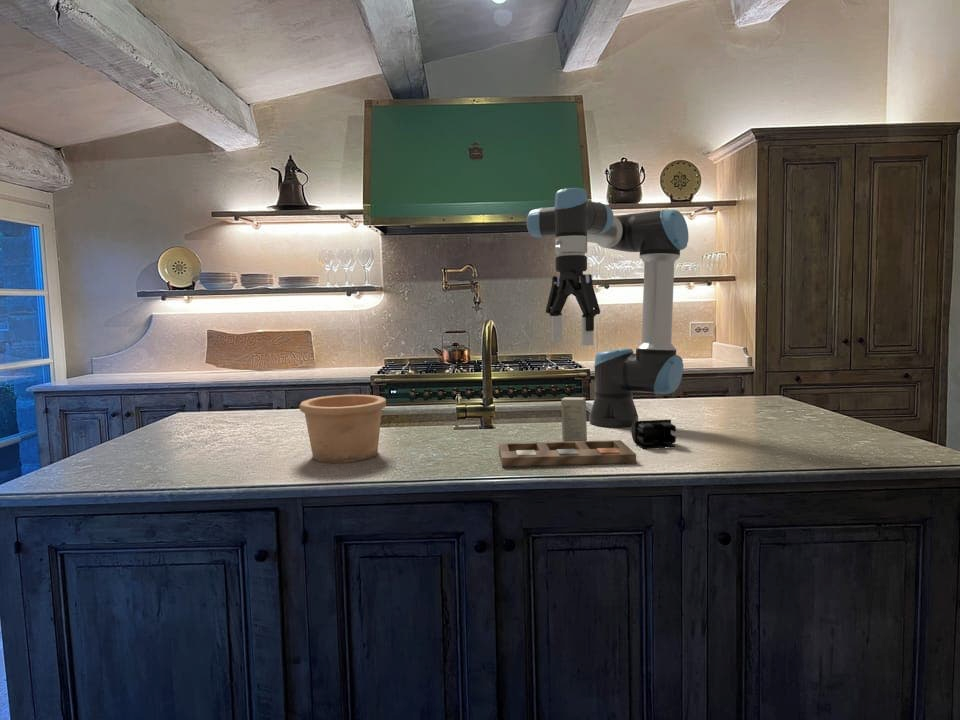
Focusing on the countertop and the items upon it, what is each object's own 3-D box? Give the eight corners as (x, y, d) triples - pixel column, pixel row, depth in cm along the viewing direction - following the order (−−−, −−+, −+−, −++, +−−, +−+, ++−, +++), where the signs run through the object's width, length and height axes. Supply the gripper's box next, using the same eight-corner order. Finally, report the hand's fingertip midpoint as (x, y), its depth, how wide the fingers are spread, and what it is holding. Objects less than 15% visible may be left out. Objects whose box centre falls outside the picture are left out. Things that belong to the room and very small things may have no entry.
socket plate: (502, 467, 152) (502, 456, 152) (498, 452, 167) (498, 441, 167) (636, 464, 153) (636, 452, 153) (620, 449, 168) (620, 438, 168)
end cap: (666, 441, 176) (666, 417, 175) (677, 447, 169) (677, 422, 168) (631, 443, 175) (631, 419, 174) (640, 449, 168) (640, 424, 167)
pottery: (315, 446, 179) (313, 395, 177) (394, 445, 178) (392, 393, 177) (290, 466, 157) (287, 408, 156) (379, 465, 156) (377, 407, 155)
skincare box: (587, 440, 179) (587, 397, 178) (584, 444, 175) (584, 399, 174) (564, 439, 181) (564, 396, 180) (561, 442, 177) (560, 398, 176)
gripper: (532, 258, 164) (532, 341, 166) (587, 251, 141) (587, 347, 143) (557, 258, 167) (557, 339, 169) (615, 251, 144) (615, 345, 146)
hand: (571, 343), depth 156 cm, fingers open, 13 cm apart
